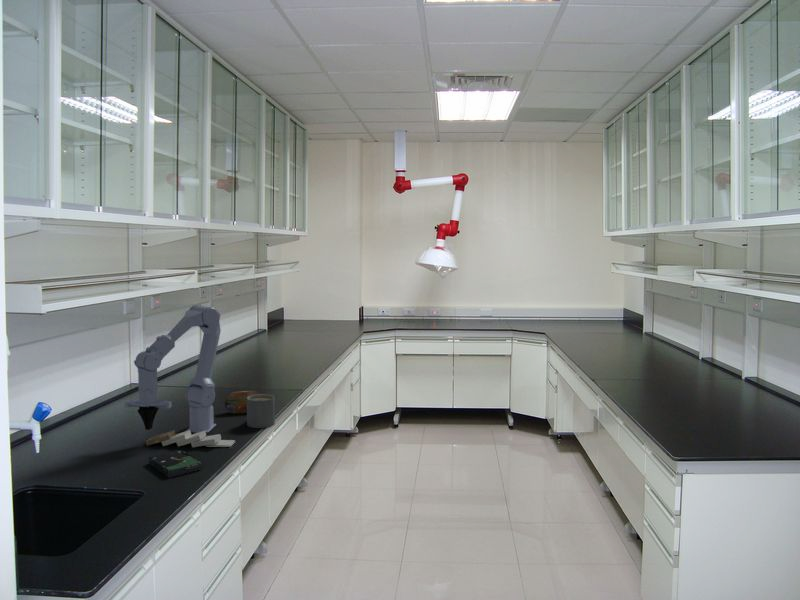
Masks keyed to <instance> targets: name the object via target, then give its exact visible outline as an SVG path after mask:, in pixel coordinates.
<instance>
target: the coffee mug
mask: <svg viewBox="0 0 800 600" xmlns="http://www.w3.org/2000/svg"><path fill="white" fill-rule="evenodd" d="M275 399H276V398H275V396H274V395H273V394H268V393H264V394H263V393H261V394H256V395H251V396H248V397H247V413H246V426H247V427H249V428H252V429H253V428H255V429H264V428H271V427H272V426H274V425H275V420H276V419H275V418H276V416H275V415H276V414H275V413H276V411H275V410H276V409H275V407H276V406H275V405H276V404H275Z"/></svg>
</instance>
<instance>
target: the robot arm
mask: <svg viewBox="0 0 800 600" xmlns="http://www.w3.org/2000/svg"><path fill="white" fill-rule="evenodd" d="M220 319H221V313H220V312H219V311H218V309H216V308H215V307H214V306H204V305H198V304H195V305H192V306H191V307H190V308H189V309H188V310H186V311H185V313H184V316H183V317H182V318H181V319H180V320H179V321H178V323H176V324H175V326H173V328H172V329H171V330H170V331H169V332H168V333H167V334H161V335H160V336H159V335H158V336H157V337H156V338H155V339H156V340H155V341H154V342H153V343H152V344H151V345H149V346H147V347H146V348H145V351H141V352H139V353H138V354H137V355H136V357H135V360H134V361H133V364H134V365H135V367H136V368H137V376H138V377H137V378H138V399H132V400H131V399H127V400H126V401H124V407H125V408H138V409H137V413H138V415H139V416H140V417H141V420H142V422H143V425H144V429H145V430H146V431H149V430H151V429H153V424H154V421H155V418H156V415H157V413H158V411H159V409H162V408H163V409H168V410H169V409H171V408H172V401H169V400H163V399H159V398H158V394H159V393H158V369H159V368H160V367H161V364H162V360H163V359H164V358H165V357H166V356H167V355H168V354H170V352H171V351H172V350H173V349H175V347H176V341H178V340H179V339H180V338H181V337H182V336H183V335H185V334H186V332H188V331H189V330H190V329H191V328H194V327H199V329H200V330H201V332H202V333H203V335H202V341H201V346H200V350H199V356H198V361H197V366H196V371H195V375H194V377H193V378H192V379H191V380H190V381H189V384H188V387H187V388H186V390H185V394H184V396H185V400H187V401H188V405H189V428H187V429H186V430H185V431H188V430H190V432H191V433H199V432H202V431H205V432H206V434H207V433H209V432H210V431H212V430H213V429H214V428H215V427H216V426H217V423H214V422H215V421H214V419H215V417H214V414H215V413H214V406H213V403H214V401H215V399H216V392H215V388H216V385H215V383H214V382H213V381H214V380H212V376H213V371H214V367H215V362H216V356H217V352H218V351H217V350H218V346H219V342H220V337H221V336H220V335H221V331H222V329H221V324H220V323H221V322H220Z"/></svg>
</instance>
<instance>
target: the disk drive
mask: <svg viewBox="0 0 800 600" xmlns="http://www.w3.org/2000/svg"><path fill="white" fill-rule="evenodd" d="M148 464H149V466H151V467H153V468H154V469H155V470H157V471H158V472H159V473H161V474H162V475H164V476H165V477H167V478H168V479H170V478H174V477H178V475H179V476H183V475H186V474H185V473H187V474H190V473H189V472H191V473H194V472H193V471H195V472H197V471H196V470H199V469H202V470H203V464H202V462H201V461H200V460H199V459H197V458H196V457H194V456H192V455H191V454H189V453H187V452H186V451H184V450H182V449H180V450H179V449H178V450H175V451H171V452H165V453H163V454H161V455H152V456H149V457H148ZM199 471H200V470H199ZM182 474H183V475H182Z"/></svg>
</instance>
